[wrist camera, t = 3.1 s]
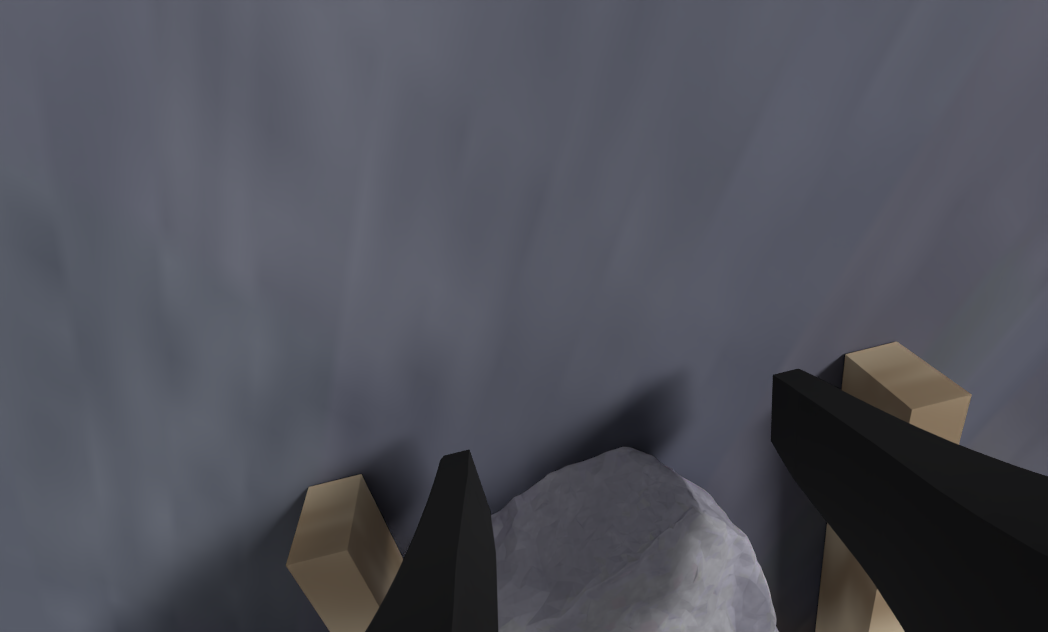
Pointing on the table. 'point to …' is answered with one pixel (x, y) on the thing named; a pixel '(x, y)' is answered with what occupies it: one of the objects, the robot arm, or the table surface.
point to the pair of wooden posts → (845, 590)
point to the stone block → (625, 554)
